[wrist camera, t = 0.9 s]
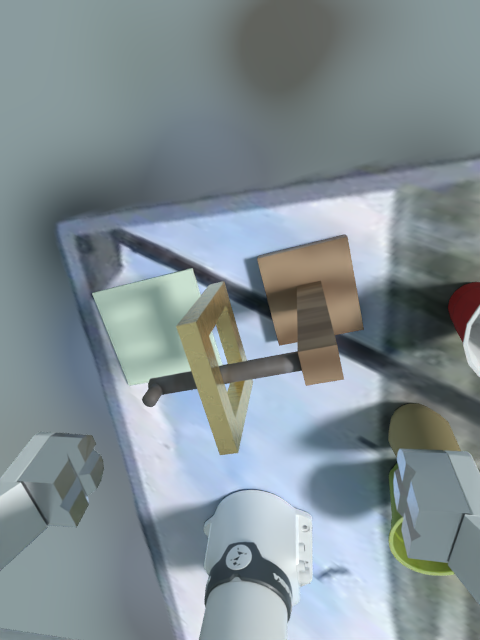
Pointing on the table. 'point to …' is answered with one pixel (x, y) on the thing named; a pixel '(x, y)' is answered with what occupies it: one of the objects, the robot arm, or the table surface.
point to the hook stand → (295, 317)
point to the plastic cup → (467, 321)
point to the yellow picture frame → (216, 365)
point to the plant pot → (399, 546)
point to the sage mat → (150, 324)
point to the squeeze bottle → (420, 430)
